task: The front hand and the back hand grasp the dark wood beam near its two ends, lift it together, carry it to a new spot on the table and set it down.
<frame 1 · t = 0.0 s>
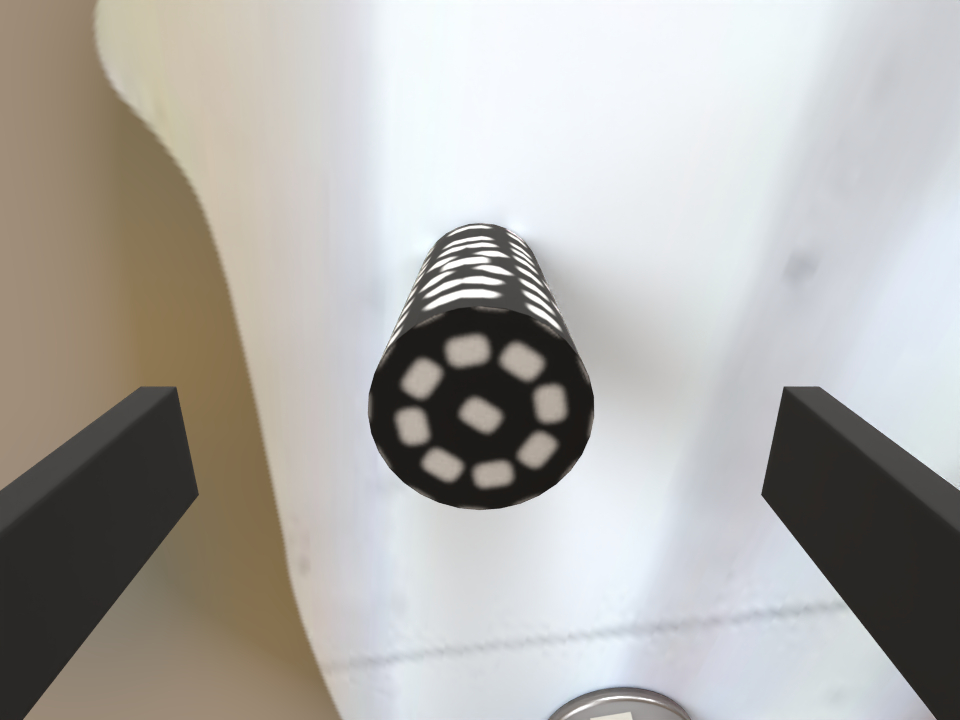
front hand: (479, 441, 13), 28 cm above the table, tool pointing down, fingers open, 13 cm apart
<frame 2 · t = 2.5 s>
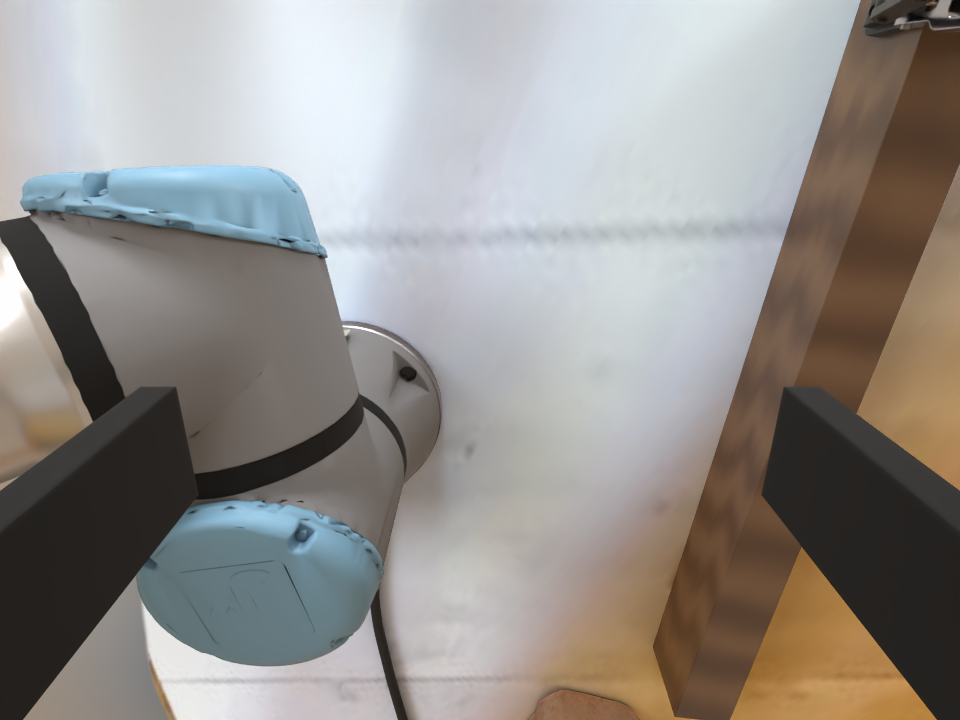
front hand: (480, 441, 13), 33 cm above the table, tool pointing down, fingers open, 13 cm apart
beam: (772, 370, 48), on the table, touching back hand
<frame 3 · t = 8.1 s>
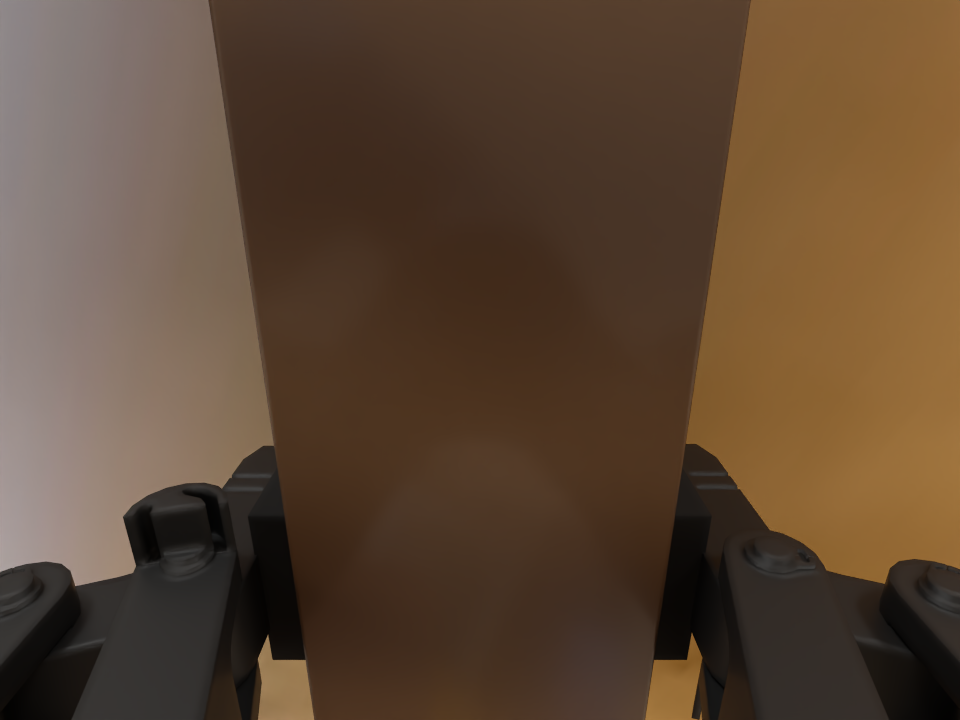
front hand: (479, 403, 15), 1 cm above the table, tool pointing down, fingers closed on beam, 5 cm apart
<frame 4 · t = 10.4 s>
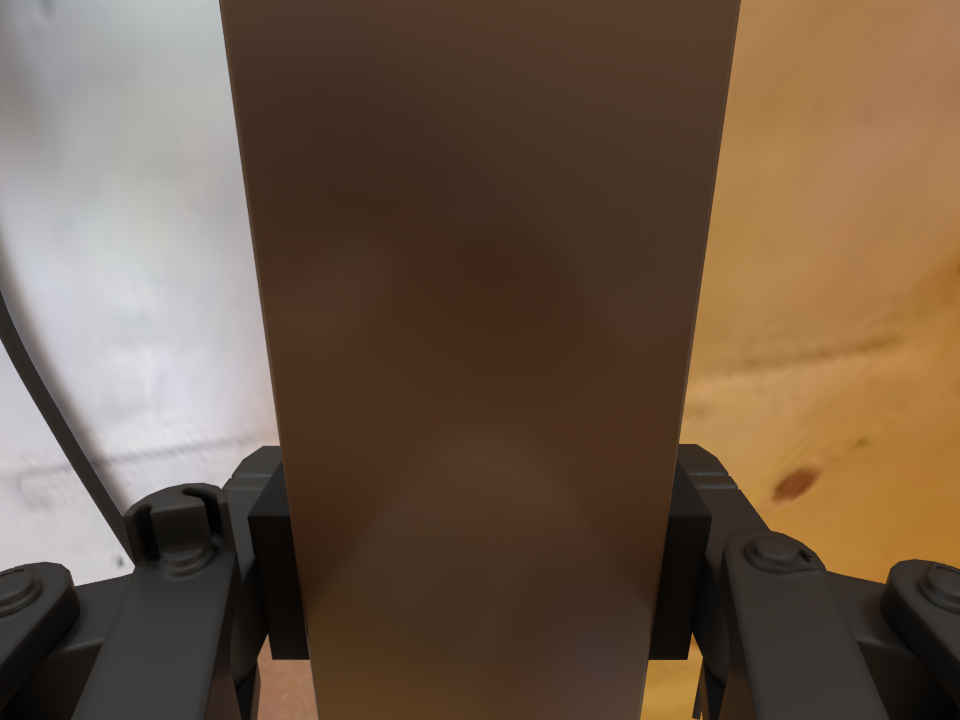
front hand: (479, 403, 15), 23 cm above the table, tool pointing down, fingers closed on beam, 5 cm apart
stone: (363, 555, 44), on the table
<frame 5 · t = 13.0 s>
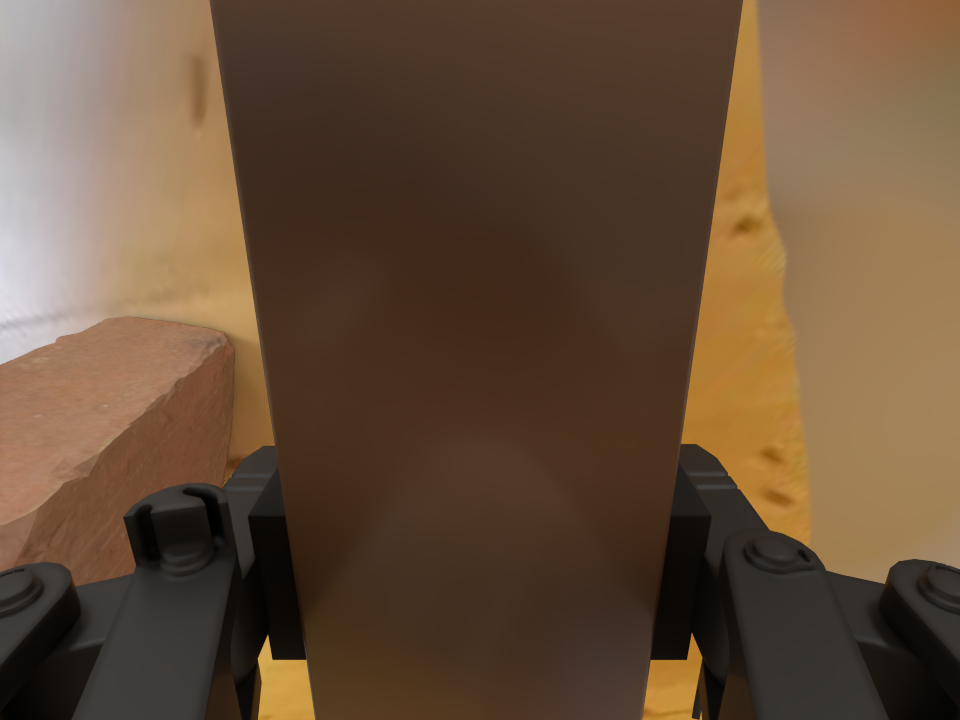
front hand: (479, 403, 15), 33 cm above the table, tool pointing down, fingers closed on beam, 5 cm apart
stone: (172, 421, 52), on the table
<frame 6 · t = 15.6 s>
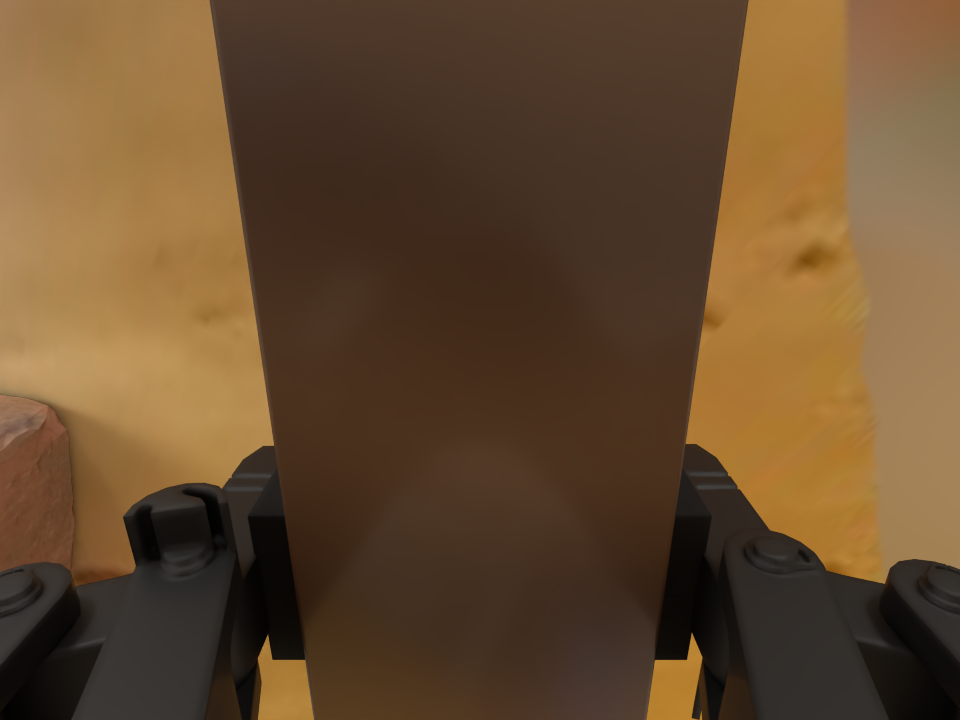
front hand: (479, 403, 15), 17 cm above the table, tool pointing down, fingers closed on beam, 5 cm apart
when the front hand's fingers open (2 cm above the table, at t = 17.9 s): beam drops 1 cm, on the table.
when the back hand's fingers open (4 cm above the table, at t = 18.1 s): beam stays where it is, on the table.
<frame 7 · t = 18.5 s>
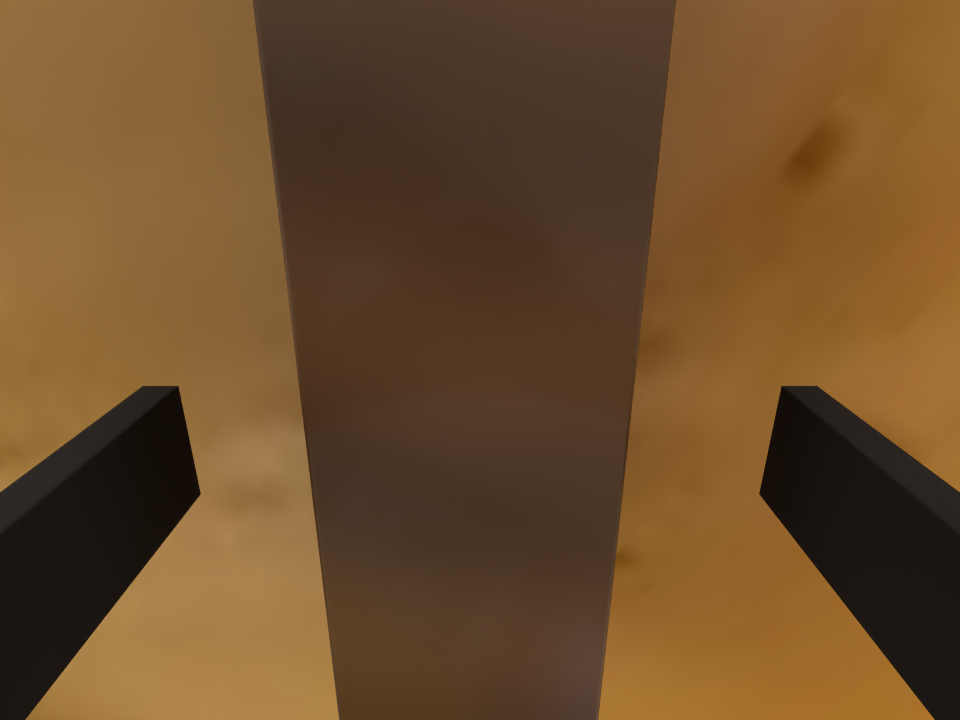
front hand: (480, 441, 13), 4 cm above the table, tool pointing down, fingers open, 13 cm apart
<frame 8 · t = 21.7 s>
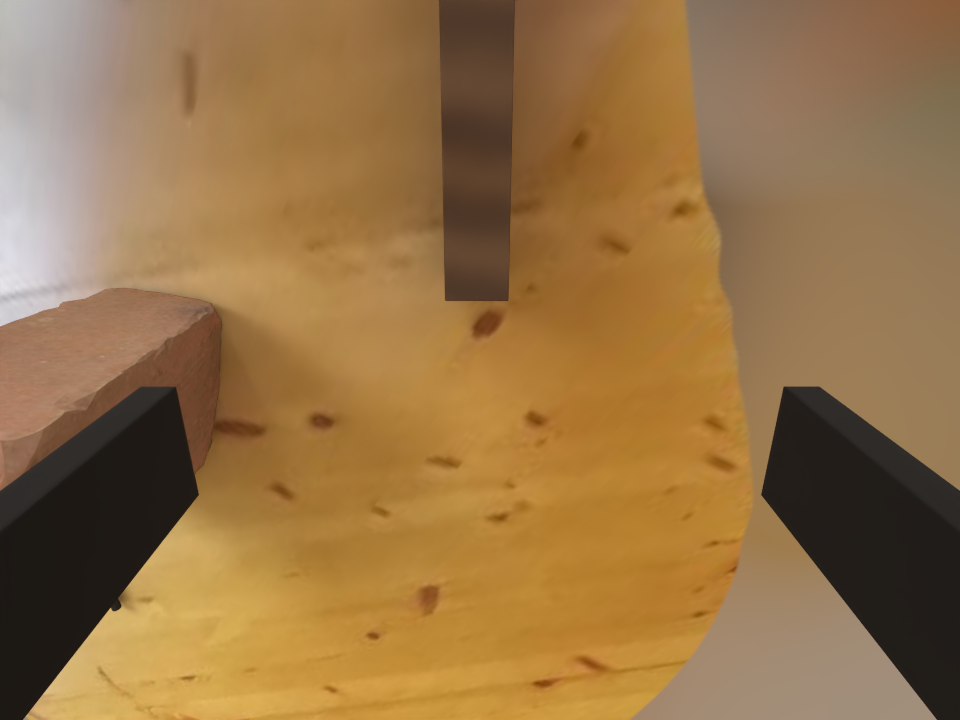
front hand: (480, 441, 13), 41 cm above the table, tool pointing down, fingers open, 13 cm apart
stone: (165, 386, 57), on the table
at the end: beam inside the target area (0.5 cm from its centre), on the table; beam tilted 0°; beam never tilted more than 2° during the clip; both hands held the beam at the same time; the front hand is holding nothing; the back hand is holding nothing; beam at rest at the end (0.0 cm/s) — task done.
